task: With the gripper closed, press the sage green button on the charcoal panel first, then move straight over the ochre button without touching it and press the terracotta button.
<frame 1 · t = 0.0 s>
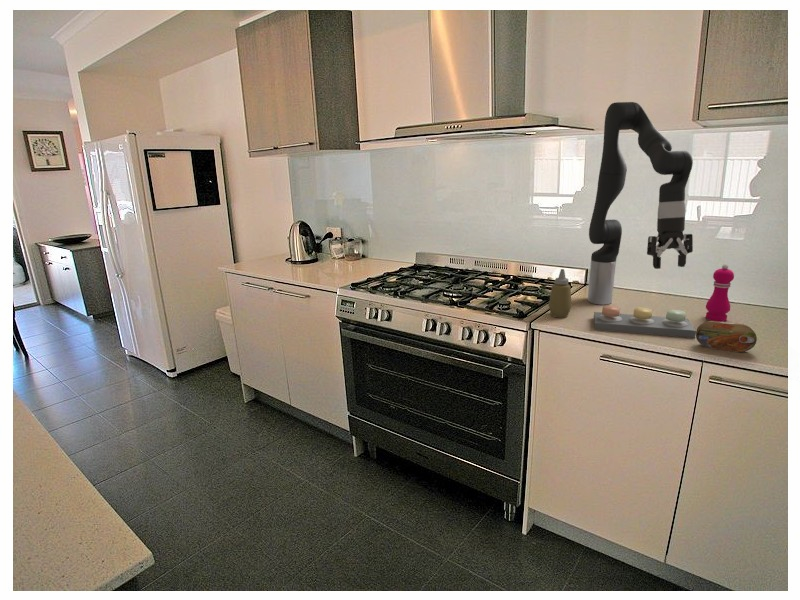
hand: (669, 267, 148), 22 cm above the counter, tool pointing down, fingers open, 8 cm apart
sage button: (675, 315, 154), point 5 cm above the counter, slide at 0.0 cm
squeeze bottle: (559, 316, 174), on the counter
ochre button: (642, 313, 158), point 5 cm above the counter, slide at 0.0 cm
terracotta button: (610, 311, 161), point 5 cm above the counter, slide at 0.0 cm
tin: (722, 349, 141), on the counter
pepper mill: (715, 319, 165), on the counter
button panel: (640, 327, 159), on the counter
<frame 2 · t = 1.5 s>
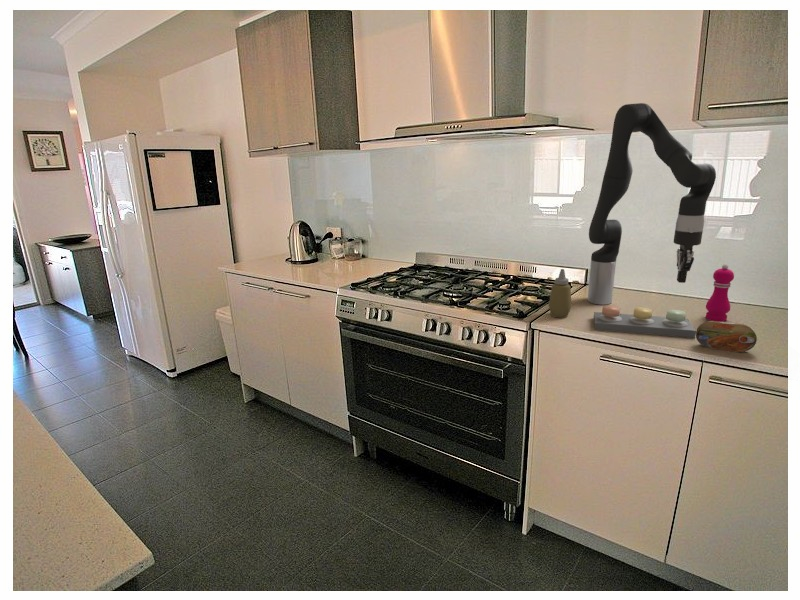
hand: (681, 281, 151), 17 cm above the counter, tool pointing down, fingers closed
nothing on the counter moved.
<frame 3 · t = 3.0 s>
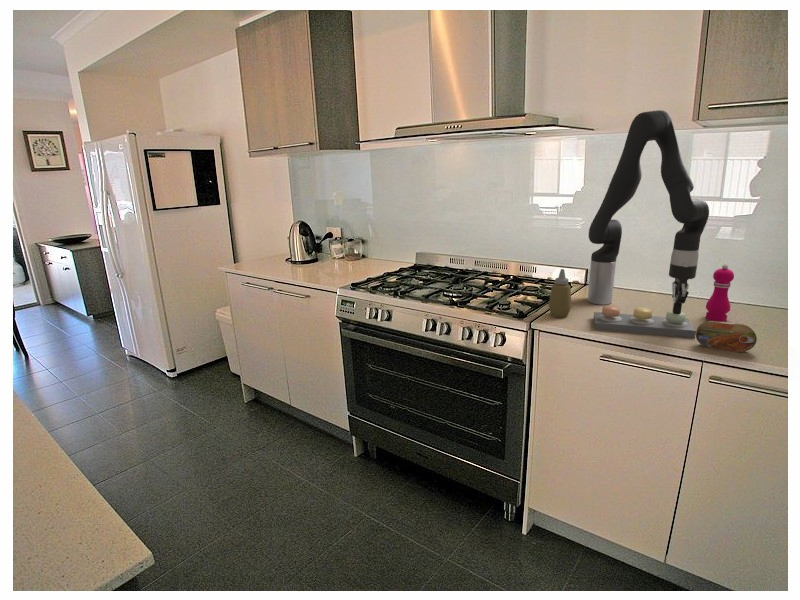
hand: (676, 313, 154), 6 cm above the counter, tool pointing down, fingers closed
sage button: (675, 316, 154), point 5 cm above the counter, slide at 0.4 cm, touching gripper
everything else where it was.
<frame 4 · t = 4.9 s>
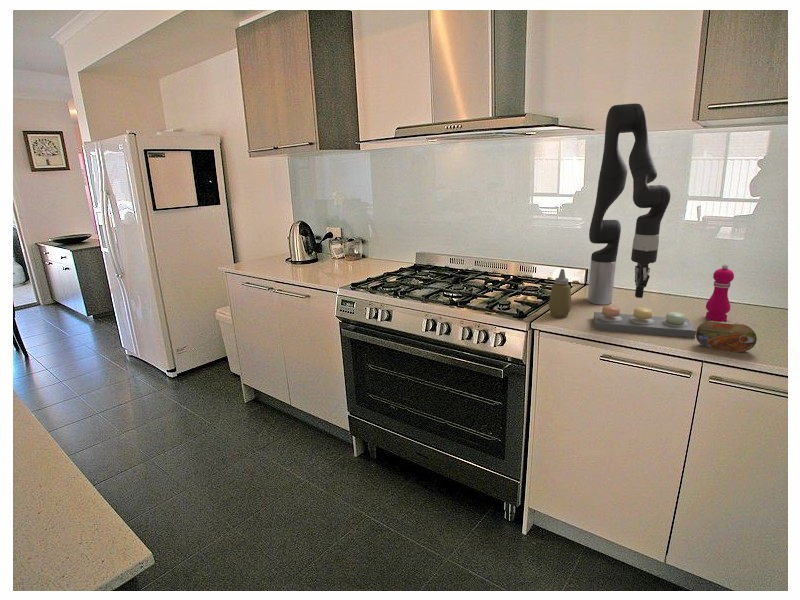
hand: (638, 297, 157), 11 cm above the counter, tool pointing down, fingers closed
sage button: (675, 318, 155), point 4 cm above the counter, slide at 0.9 cm
everything else where it was.
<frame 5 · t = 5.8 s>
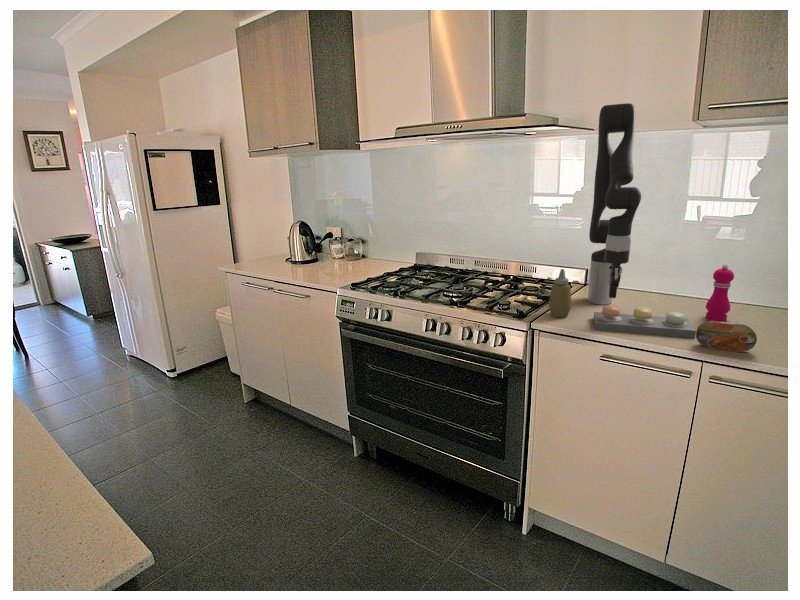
hand: (612, 297, 159), 10 cm above the counter, tool pointing down, fingers closed
nothing on the counter moved.
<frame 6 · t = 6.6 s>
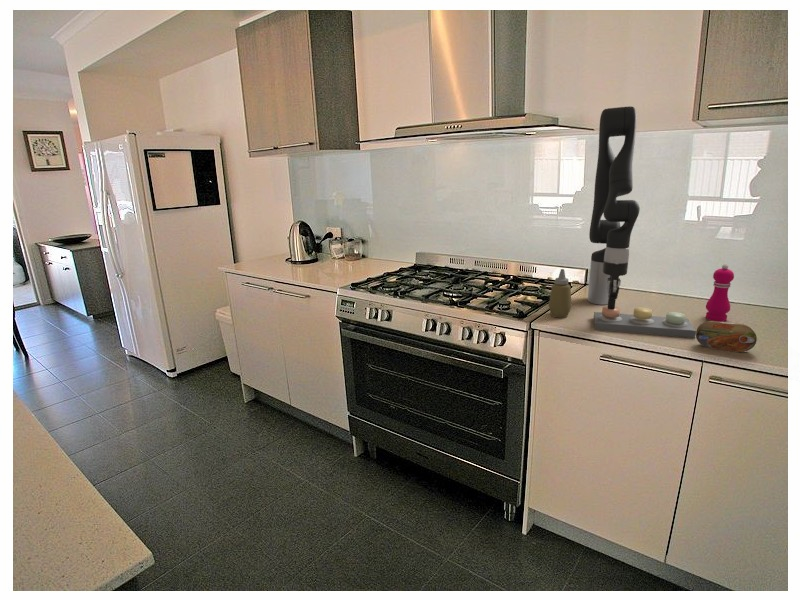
hand: (610, 308, 161), 6 cm above the counter, tool pointing down, fingers closed
terracotta button: (610, 311, 161), point 5 cm above the counter, slide at 0.3 cm, touching gripper
everything else where it was.
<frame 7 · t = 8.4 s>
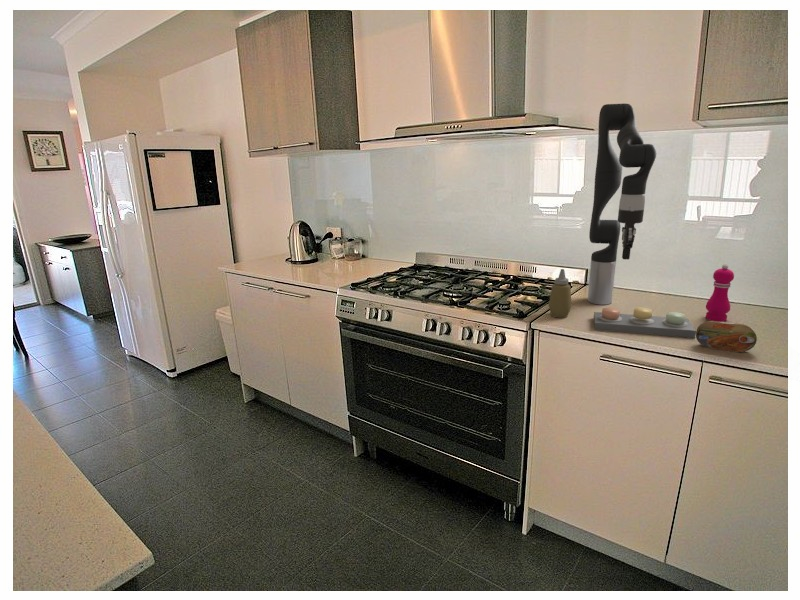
hand: (625, 258, 157), 23 cm above the counter, tool pointing down, fingers closed
terracotta button: (610, 313, 161), point 4 cm above the counter, slide at 0.9 cm
everything else where it was.
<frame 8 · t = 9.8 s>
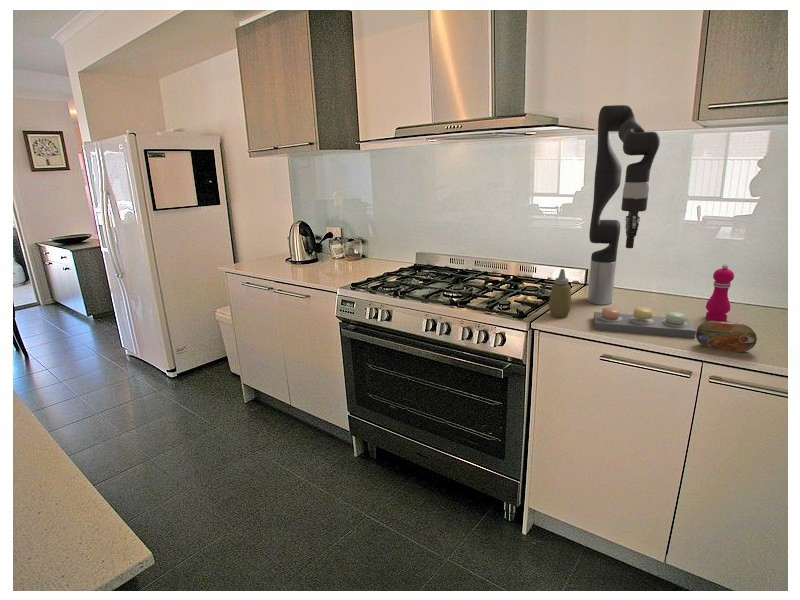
hand: (629, 247, 157), 27 cm above the counter, tool pointing down, fingers closed
nothing on the counter moved.
at the end: sage button slide at 0.9 cm; terracotta button slide at 0.9 cm; ochre button slide at 0.0 cm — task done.
